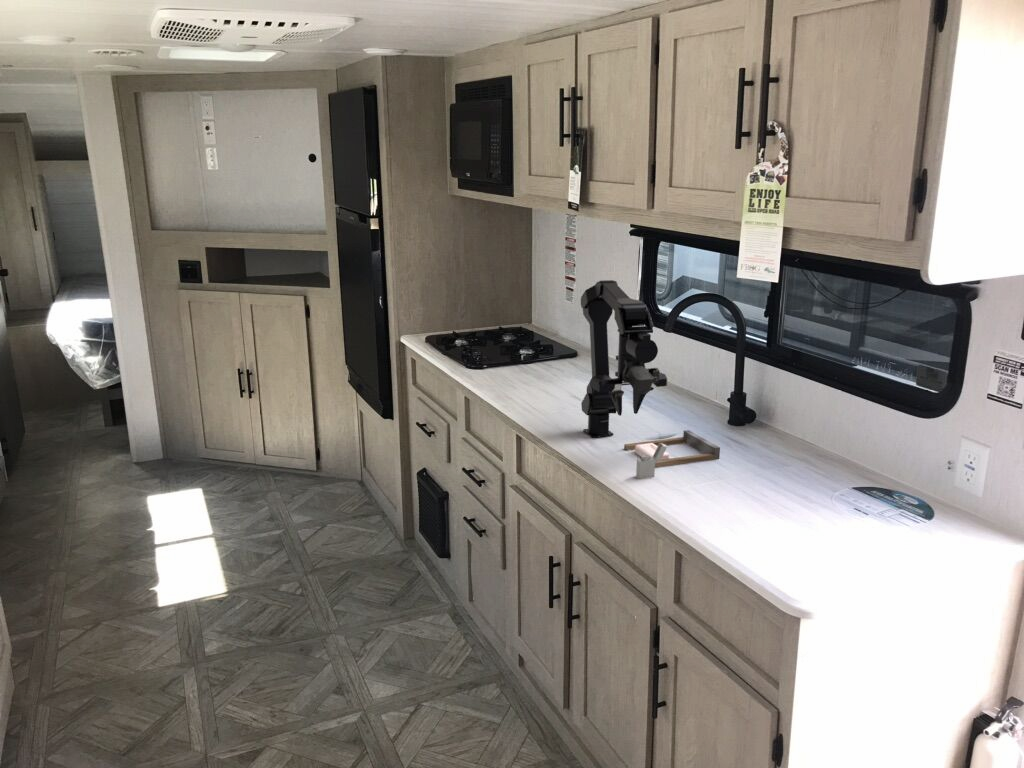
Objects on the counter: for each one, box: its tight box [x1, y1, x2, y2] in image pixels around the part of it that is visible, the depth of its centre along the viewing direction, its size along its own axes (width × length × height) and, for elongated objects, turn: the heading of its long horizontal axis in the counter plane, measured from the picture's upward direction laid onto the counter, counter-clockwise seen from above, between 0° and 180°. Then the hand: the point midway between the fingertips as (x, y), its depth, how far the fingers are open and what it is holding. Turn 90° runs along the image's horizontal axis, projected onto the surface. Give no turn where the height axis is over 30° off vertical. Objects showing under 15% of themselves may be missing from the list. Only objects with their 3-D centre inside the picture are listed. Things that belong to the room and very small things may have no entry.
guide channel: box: [623, 429, 721, 469], centre depth 222 cm, size 15×19×3 cm
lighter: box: [635, 443, 668, 479], centre depth 206 cm, size 7×2×8 cm, turn 107°
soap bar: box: [634, 443, 670, 461], centre depth 220 cm, size 5×9×2 cm, turn 19°
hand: (627, 414), depth 215 cm, fingers open, 4 cm apart
